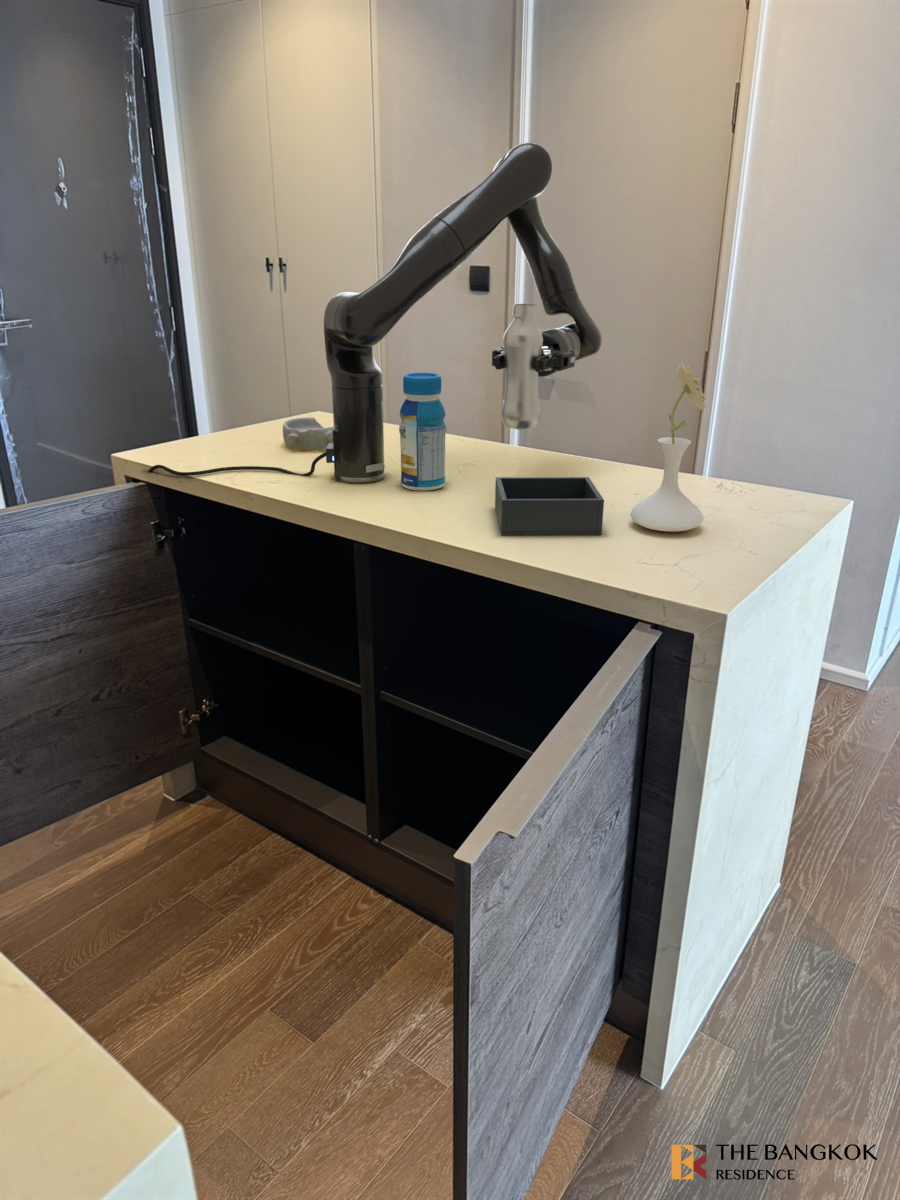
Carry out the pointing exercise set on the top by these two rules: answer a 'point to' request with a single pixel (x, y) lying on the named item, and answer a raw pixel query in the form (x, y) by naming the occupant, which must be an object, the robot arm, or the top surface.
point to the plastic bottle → (521, 369)
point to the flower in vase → (672, 474)
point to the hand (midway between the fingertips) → (517, 364)
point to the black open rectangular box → (548, 506)
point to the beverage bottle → (422, 433)
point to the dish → (306, 434)
